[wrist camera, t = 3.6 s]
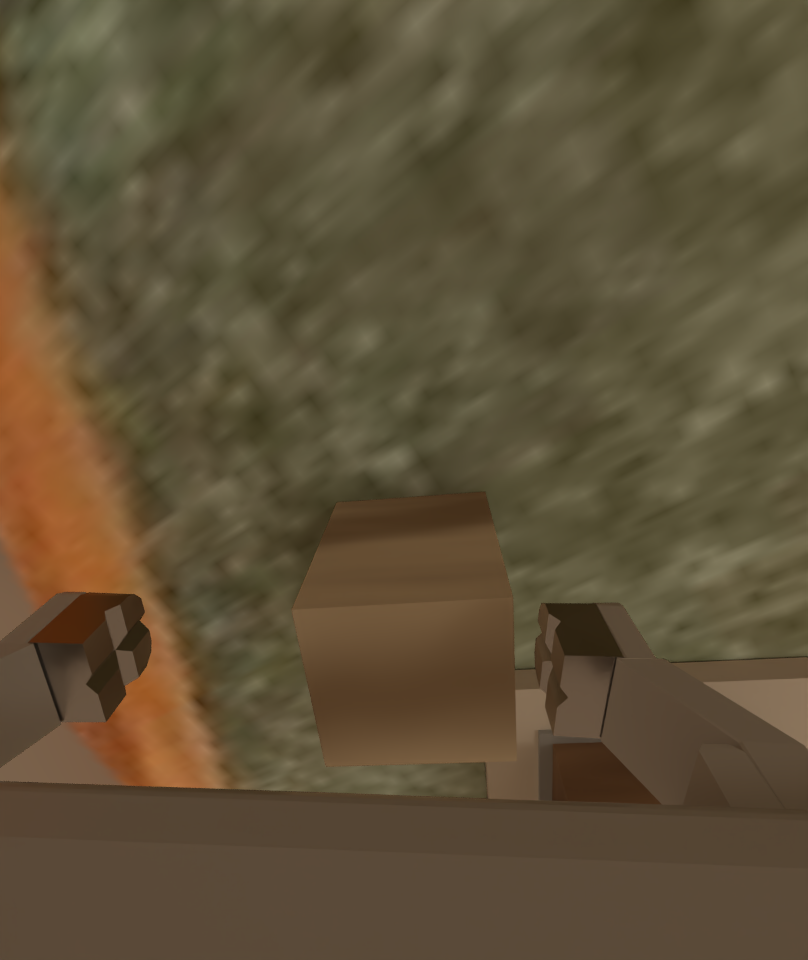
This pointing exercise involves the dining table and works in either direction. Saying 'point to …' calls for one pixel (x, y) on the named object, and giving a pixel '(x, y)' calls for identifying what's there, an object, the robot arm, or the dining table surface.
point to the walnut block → (594, 776)
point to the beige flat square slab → (750, 683)
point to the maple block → (410, 634)
